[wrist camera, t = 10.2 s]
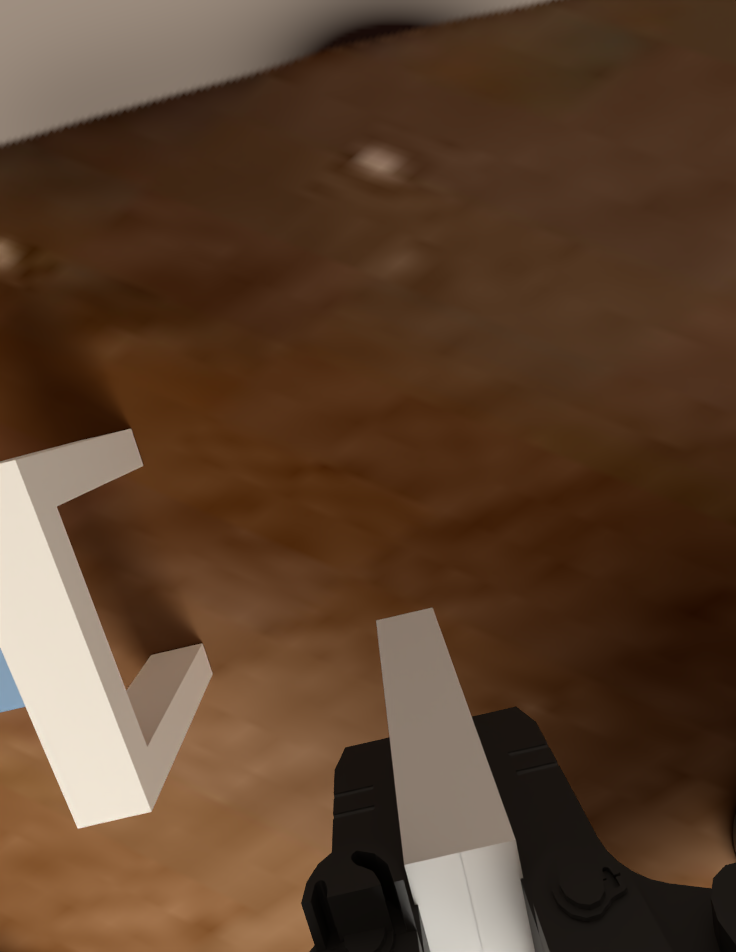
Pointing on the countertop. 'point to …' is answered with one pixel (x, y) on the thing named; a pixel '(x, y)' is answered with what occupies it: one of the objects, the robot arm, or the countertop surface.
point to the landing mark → (8, 688)
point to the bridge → (84, 643)
